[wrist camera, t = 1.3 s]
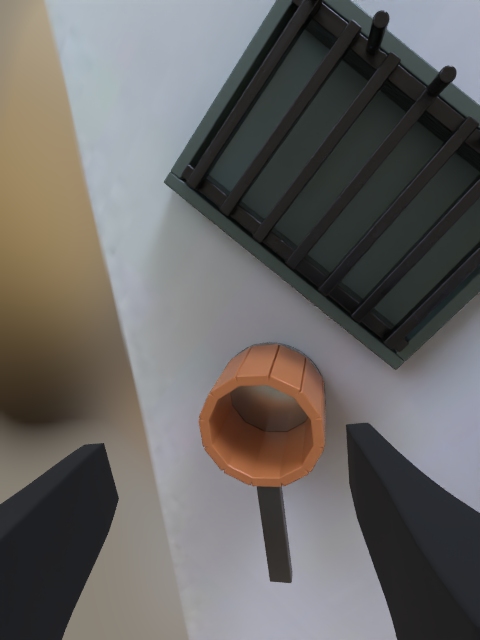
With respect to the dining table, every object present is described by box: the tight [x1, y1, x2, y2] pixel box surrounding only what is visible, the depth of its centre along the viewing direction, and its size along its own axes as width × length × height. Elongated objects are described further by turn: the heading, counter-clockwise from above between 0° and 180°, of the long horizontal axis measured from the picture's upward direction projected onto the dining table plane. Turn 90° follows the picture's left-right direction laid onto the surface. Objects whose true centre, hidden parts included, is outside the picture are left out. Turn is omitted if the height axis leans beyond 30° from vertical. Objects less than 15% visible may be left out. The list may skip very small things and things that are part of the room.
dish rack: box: [164, 0, 480, 370], centre depth 16 cm, size 14×10×5 cm
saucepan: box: [199, 343, 326, 583], centre depth 21 cm, size 11×6×4 cm, turn 8°
